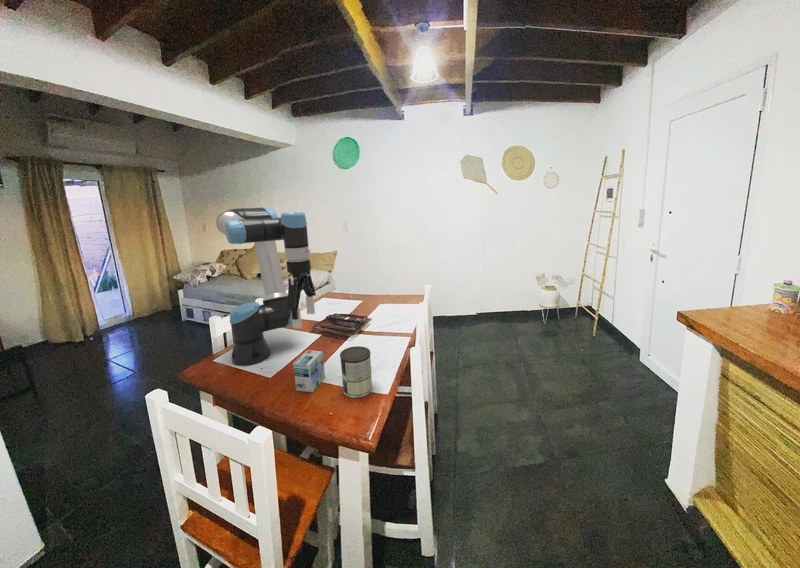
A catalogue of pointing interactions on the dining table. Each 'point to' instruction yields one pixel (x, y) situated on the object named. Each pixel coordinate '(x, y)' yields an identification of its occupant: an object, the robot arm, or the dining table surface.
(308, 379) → the light bulb box
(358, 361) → the coffee can
